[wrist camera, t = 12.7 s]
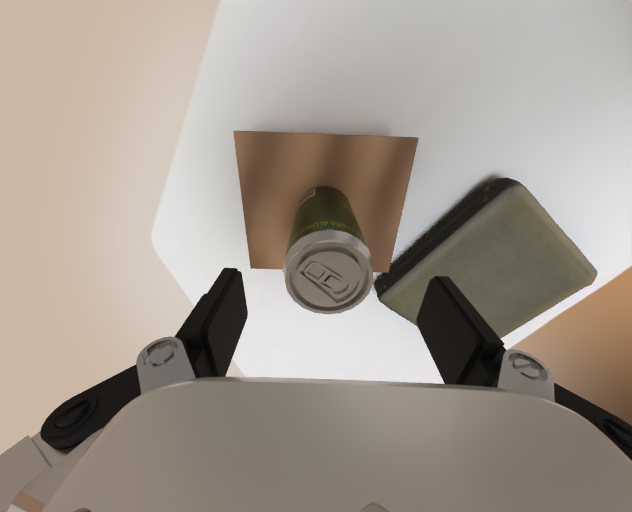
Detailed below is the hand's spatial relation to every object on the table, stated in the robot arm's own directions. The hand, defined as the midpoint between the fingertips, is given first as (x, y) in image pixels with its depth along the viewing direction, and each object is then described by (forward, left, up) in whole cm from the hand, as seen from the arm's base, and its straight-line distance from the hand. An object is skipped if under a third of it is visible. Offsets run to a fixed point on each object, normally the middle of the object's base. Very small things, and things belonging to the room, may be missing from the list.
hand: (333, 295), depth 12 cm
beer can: (0, 0, -14) cm, 14 cm away
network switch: (-23, +11, -21) cm, 33 cm away
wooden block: (0, 0, -20) cm, 20 cm away
